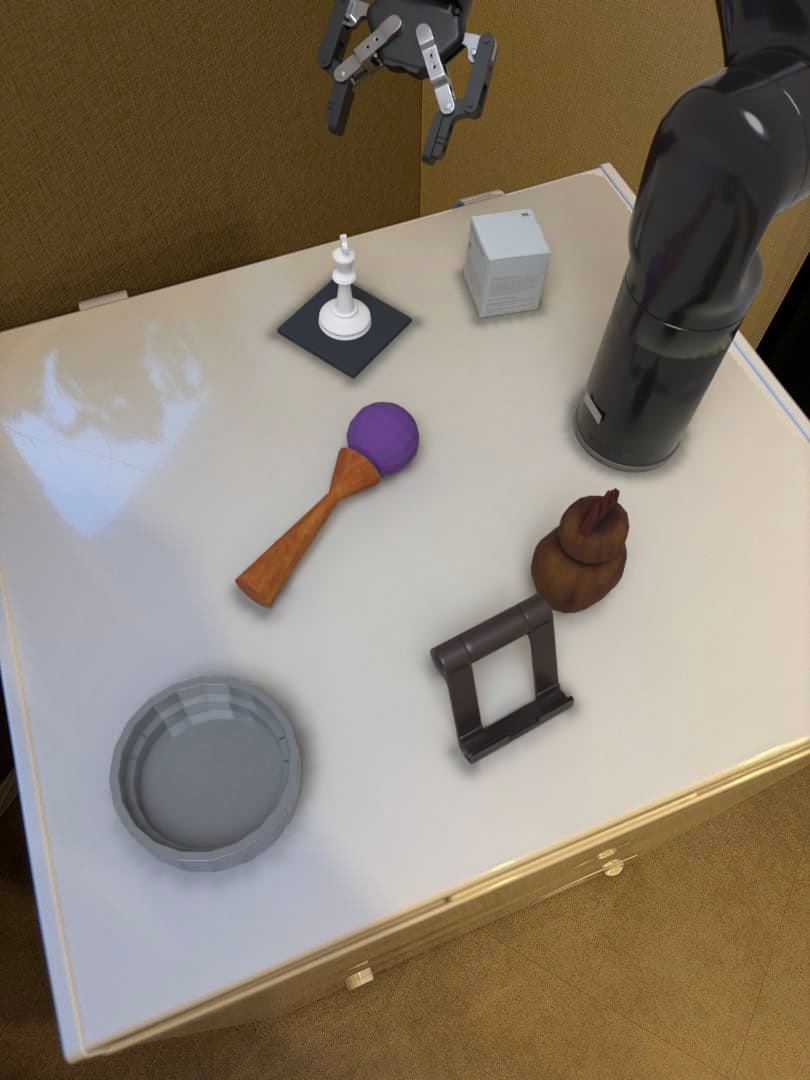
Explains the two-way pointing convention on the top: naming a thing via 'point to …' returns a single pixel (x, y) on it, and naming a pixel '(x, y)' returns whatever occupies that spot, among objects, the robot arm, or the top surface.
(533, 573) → the brown gourd
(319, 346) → the mat
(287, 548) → the kendama
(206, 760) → the basin
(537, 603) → the tablet stand
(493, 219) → the product box
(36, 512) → the top surface
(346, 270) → the chess piece
